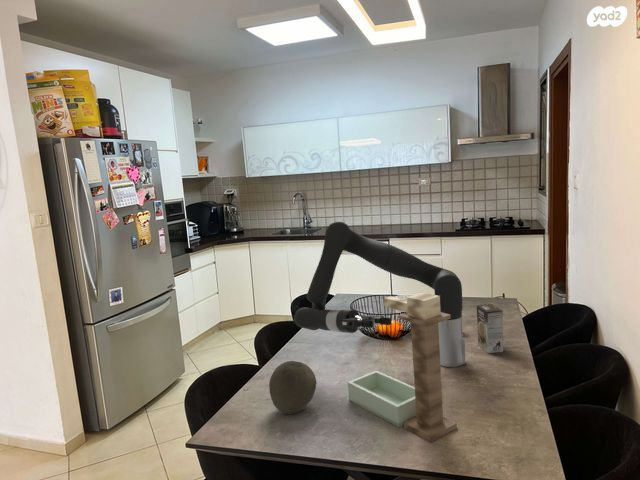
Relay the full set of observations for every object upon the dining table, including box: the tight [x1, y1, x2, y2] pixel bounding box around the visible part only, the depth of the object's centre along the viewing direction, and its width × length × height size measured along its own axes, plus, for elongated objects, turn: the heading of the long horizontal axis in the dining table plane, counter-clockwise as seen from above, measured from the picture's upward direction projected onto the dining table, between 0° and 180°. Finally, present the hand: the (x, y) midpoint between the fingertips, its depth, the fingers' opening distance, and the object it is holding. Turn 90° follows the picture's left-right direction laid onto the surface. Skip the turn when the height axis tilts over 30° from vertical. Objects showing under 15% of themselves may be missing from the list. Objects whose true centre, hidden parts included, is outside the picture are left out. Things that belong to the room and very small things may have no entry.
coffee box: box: [476, 303, 504, 354], centre depth 181 cm, size 9×6×16 cm
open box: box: [347, 370, 416, 428], centre depth 144 cm, size 22×12×6 cm, turn 35°
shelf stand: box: [398, 312, 458, 443], centre depth 128 cm, size 10×10×32 cm
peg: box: [383, 292, 441, 320], centre depth 130 cm, size 17×6×5 cm, turn 35°
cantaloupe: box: [268, 360, 317, 415], centre depth 146 cm, size 14×14×15 cm
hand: (381, 322), depth 145 cm, fingers open, 8 cm apart
